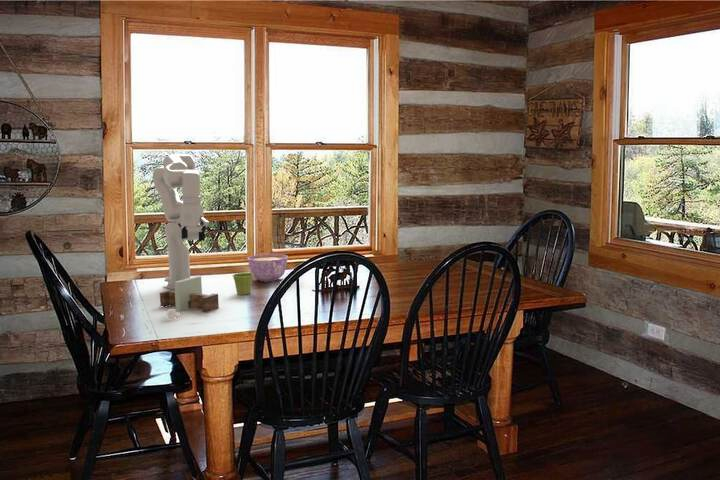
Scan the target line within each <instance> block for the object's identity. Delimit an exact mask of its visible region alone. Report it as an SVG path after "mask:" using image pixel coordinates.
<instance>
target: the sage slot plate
mask: <svg viewBox="0 0 720 480" xmlns="http://www.w3.org/2000/svg"><path fill="white" fill-rule="evenodd" d="M174 286H175V304H176V307H175V309H176V312H182V310H183V311H185V310H188V309H190V308H189V307H188V301H191V297H190V294H193V293H197V294H203V288H202V286H203V285H202V276H201V275H200V276H199V275H195V276H192V277H191V276H190V278H188V279H184V280H180V281H177V282H174Z"/></svg>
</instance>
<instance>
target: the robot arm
mask: <svg viewBox="0 0 720 480" xmlns="http://www.w3.org/2000/svg"><path fill="white" fill-rule="evenodd" d="M195 169H196V161H195V159H194V157H193V155H191V154H186V153H185V154H169V155H166V156H165V157H164V158H163V159H162V166H160V167H159V166H158V167H156V168H155V169H154V170H153V172H152V181H153V185H154V187H155V190H156V192H157V193H158V195H159V197H160V200H161V204H162V209H163V213H164V217H165V219H166V220H167V221H168V222H167V224H166V225H165V226H164V232H165V237H166V238H165V239H166V243H167V252H168V253H167V255H168V268H169V269H168V271H169V276H166V278H164V282H166V283H167V284H166V288H167V289H168V290H172V289H175V286H174V282H177V281H180V280H184V279H188V278H191V267H190V263H191V262H190V251H189V247H187V245H186V244H185V243H184V242H185V241H195V240H198V241H199V242H202V241H205V240H206V233H205V232H206V231H207V229H208V227H209V224H210V222H209V221H208V220H207V219H206V218H205V215H204V209H203V204H202V199H201V197H202V196H201V195H202V194H201V175H200V173H199V172H198V171H197V170H195ZM175 188H177V189H178V188H182V197H181V198H180V194H179V192H178V191H177V190H176V189H175Z"/></svg>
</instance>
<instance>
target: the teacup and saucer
mask: <svg viewBox="0 0 720 480" xmlns="http://www.w3.org/2000/svg"><path fill="white" fill-rule="evenodd" d="M166 315H167V316H166V317H168V318H167V319H168V320H169V319H174V318H175V317H177V318H178V317H181V313H180V312H179V311H176V308H171V309H170V308H169V309H167V313H166ZM175 319H176V318H175ZM175 319H174V320H175Z"/></svg>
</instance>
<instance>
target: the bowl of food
mask: <svg viewBox="0 0 720 480" xmlns="http://www.w3.org/2000/svg"><path fill="white" fill-rule="evenodd" d="M288 259H289V257H288V255H286V254H280V253H263V254H262V253H261V254H253V255H250V256H248V257H247V262H248V266H249V269H250V272H251V273H252V274H254V275H253V277H254V278H255V279H257V280H259V281H260V282H263V281H264V282H265V283H268V281H272V282H276V281H277V280H279V279H280V278H281V277H283V276H284V275H285V273H286V269H287V264H288ZM275 280H276V281H275ZM264 282H263V283H264Z"/></svg>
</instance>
